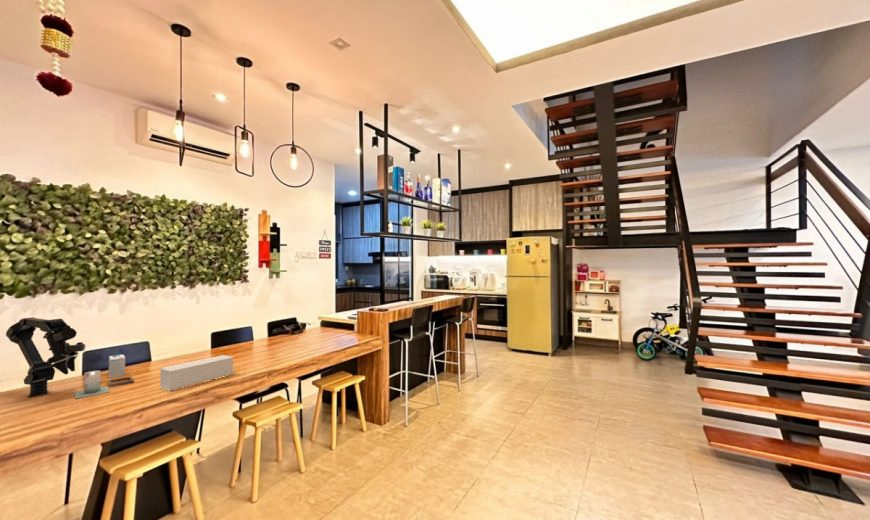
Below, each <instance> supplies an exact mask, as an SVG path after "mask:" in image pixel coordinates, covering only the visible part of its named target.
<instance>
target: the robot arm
mask: <svg viewBox="0 0 870 520" xmlns="http://www.w3.org/2000/svg"><path fill="white" fill-rule="evenodd" d="M36 329H39V331H41V332H43V333H44V335H43V337H42V339H46V341H47V345H48V347H49V348H48V350H49V351H51V353H52V356H51V357H48V359H47V360H46V361H45V360H43V357H42V356H41V354H40V352H39V350H38V349H37V346H36V345H35V343H34V341H33V336H34V334H35V333H34V332H35V331H36ZM77 333H78V331H76V329H74V328H73V327H71V325H69V324H67V322H66V321H65V320H64V319H63V318H55V319H46V318H45V319H44V318H37V317H26V318H25V317H22V318H20V320H18V322H16V323H14V324H12V325H11V326H10V327H8V329H7V330H6V332H5V336H6V338H7V339H8V340H9V341H10V342H12V343H14V344H15V345H18V347H19V350H20V351H21V353H22V354H23V355H22V356H24V359H25V361H26V362H27V364H28V366H29V368H28V370H27V375H26V377H25V378H24V379H23V384H24V385H29V393H28V398H32V396H33V397H37V396H43V395H49V389H48V382H49V381H52V380H54V377H55V373H56V370H57V371H60V372H61V373H62V374H64V375H68V374H69V370H70V371H71V372H75V371H76V365H75V363H76V361H75V360H76V359H77V357H78V355H79V352H83V351H86V350H85V349H86V344H85V343H83V341H79V342H76V344H70V343H69V342H67V341H70V340H72V339H74V338H75V337H76V336H77Z"/></svg>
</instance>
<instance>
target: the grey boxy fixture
mask: <svg viewBox="0 0 870 520" xmlns="http://www.w3.org/2000/svg"><path fill="white" fill-rule="evenodd" d="M125 374H126V356H125V355H124V354H123V353H122V354H115V355H110V356H109V355H108V377H109V378H110V379H111V378H116V377H123V376H124V377H125V376H126V375H125Z"/></svg>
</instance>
